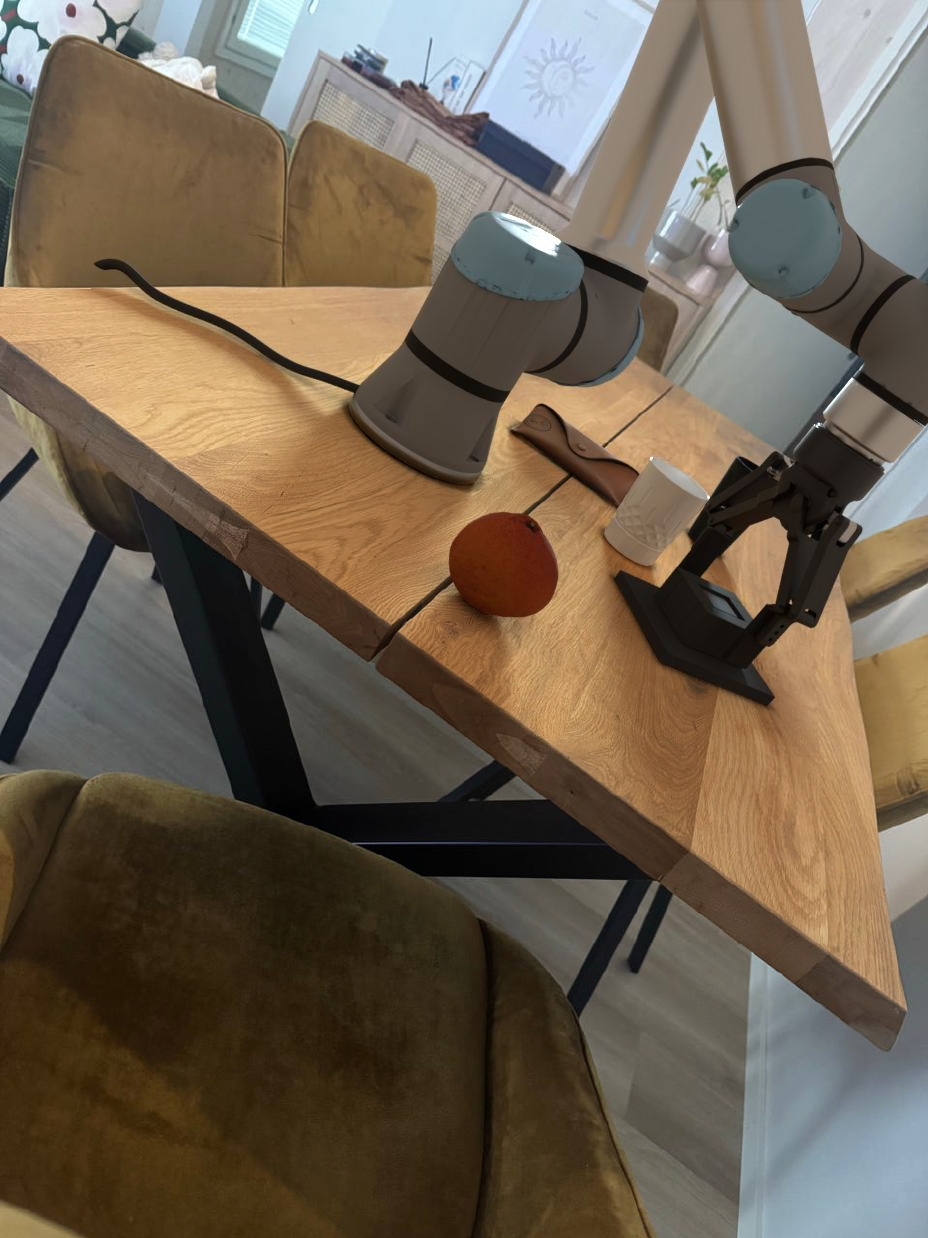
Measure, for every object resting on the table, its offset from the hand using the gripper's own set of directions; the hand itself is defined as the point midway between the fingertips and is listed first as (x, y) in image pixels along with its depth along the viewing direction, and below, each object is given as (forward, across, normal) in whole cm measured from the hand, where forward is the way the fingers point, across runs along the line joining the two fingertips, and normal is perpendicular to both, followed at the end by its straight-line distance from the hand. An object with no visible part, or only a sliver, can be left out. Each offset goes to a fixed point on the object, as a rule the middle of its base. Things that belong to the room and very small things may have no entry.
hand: (705, 620), depth 91 cm
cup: (+3, +32, -19) cm, 37 cm away
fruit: (+3, -9, +27) cm, 29 cm away
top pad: (+1, 0, 0) cm, 1 cm away
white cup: (+3, +17, +1) cm, 17 cm away
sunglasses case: (+3, +36, +3) cm, 37 cm away
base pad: (+3, 0, 0) cm, 3 cm away
